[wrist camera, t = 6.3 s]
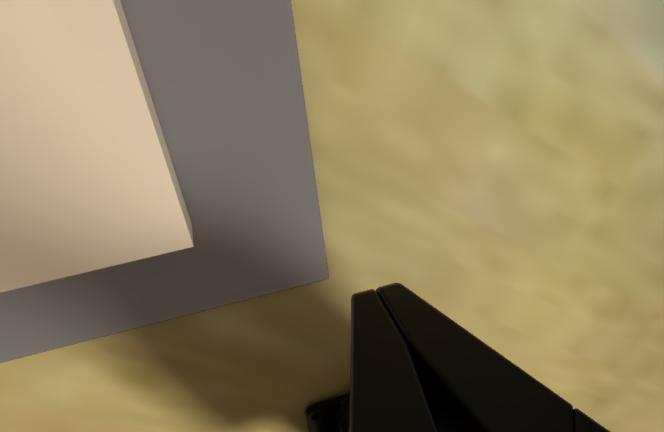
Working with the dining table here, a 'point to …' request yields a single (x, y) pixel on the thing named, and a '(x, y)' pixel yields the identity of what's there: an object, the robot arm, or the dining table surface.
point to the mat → (202, 179)
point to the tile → (79, 146)
